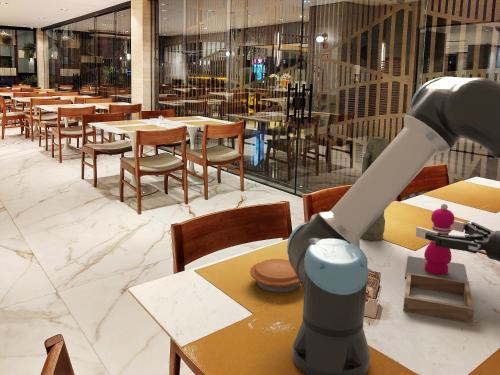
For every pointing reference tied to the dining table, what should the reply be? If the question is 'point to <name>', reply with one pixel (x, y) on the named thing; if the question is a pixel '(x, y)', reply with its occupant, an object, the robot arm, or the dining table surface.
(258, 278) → the pie
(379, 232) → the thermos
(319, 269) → the robot arm
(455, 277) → the grey square plate
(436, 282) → the walnut tray
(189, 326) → the dining table surface
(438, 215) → the pepper mill
